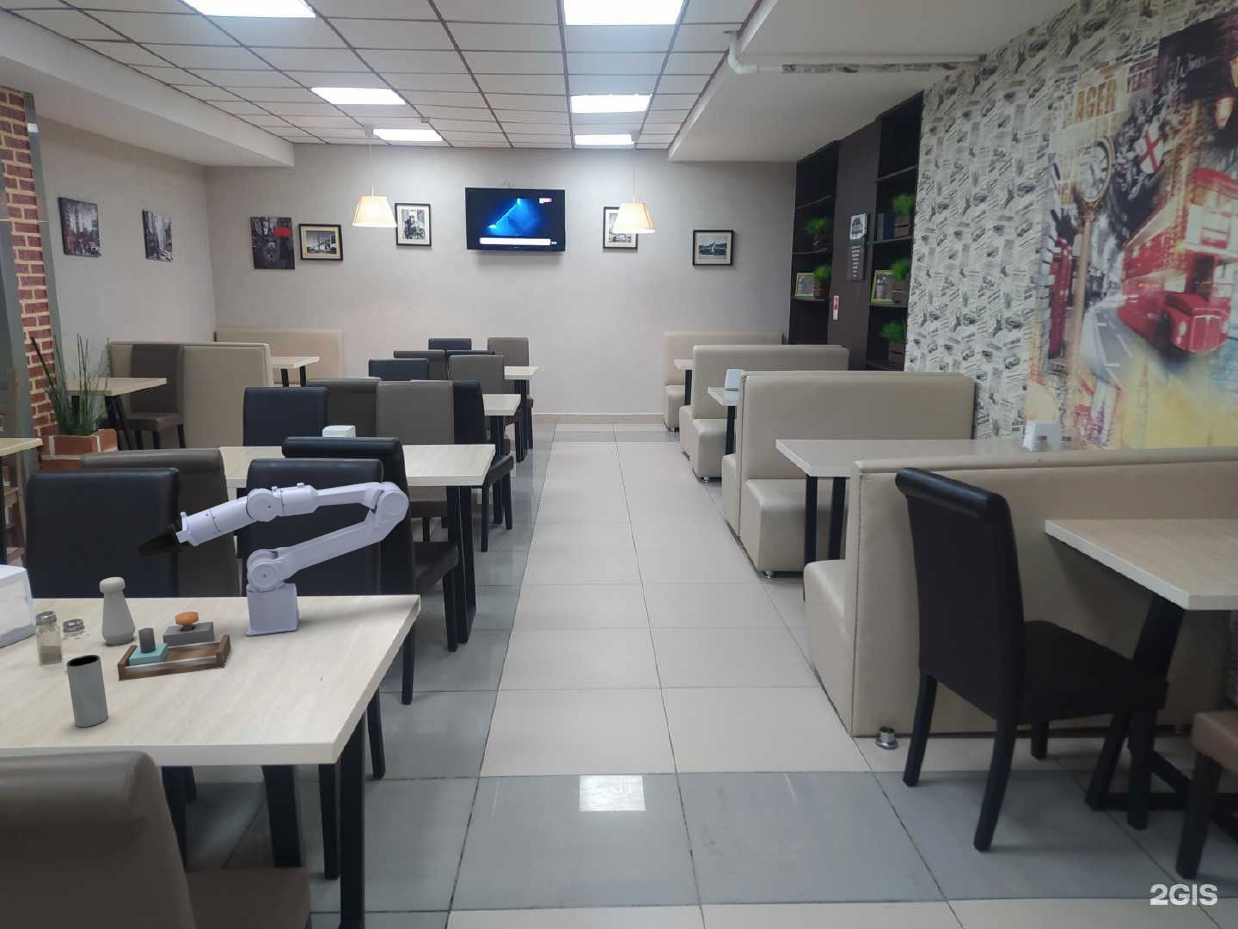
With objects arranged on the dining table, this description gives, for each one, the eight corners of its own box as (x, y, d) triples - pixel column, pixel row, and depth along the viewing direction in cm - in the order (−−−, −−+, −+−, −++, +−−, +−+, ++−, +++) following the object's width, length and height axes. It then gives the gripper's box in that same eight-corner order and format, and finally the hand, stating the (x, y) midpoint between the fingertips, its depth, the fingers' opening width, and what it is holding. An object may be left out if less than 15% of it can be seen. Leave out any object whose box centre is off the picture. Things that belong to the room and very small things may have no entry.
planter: (84, 714, 135) (76, 655, 133) (114, 713, 136) (105, 653, 134) (69, 728, 131) (60, 667, 129) (99, 726, 131) (90, 665, 129)
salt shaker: (143, 636, 168) (135, 574, 166) (124, 647, 163) (115, 583, 160) (116, 635, 169) (107, 574, 167) (96, 646, 163) (87, 583, 161)
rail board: (230, 648, 161) (229, 634, 161) (223, 667, 153) (221, 652, 152) (132, 660, 156) (130, 645, 156) (119, 680, 148) (117, 664, 147)
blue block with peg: (168, 653, 157) (164, 622, 156) (161, 665, 151) (157, 634, 150) (138, 656, 155) (134, 626, 154) (130, 669, 150) (125, 638, 148)
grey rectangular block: (214, 638, 167) (212, 621, 166) (210, 647, 162) (208, 630, 161) (170, 643, 164) (168, 626, 164) (164, 652, 160) (162, 635, 159)
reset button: (202, 630, 165) (199, 610, 164) (198, 638, 161) (195, 617, 161) (179, 633, 164) (177, 613, 163) (175, 640, 160) (173, 620, 160)
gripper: (210, 500, 170) (140, 526, 166) (204, 505, 157) (127, 533, 152) (224, 532, 171) (154, 558, 167) (219, 540, 158) (143, 569, 153)
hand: (142, 549), depth 160 cm, fingers open, 7 cm apart
